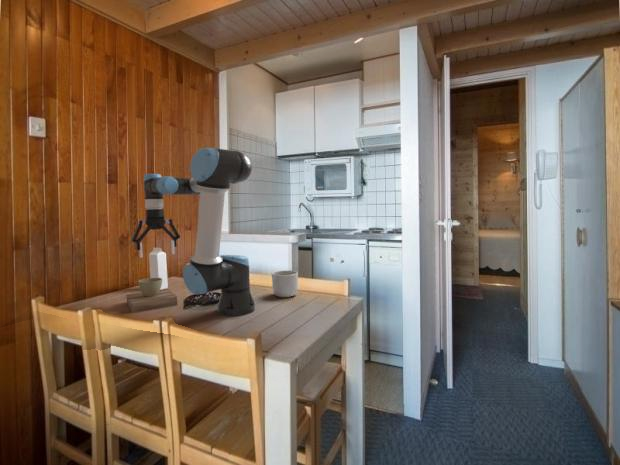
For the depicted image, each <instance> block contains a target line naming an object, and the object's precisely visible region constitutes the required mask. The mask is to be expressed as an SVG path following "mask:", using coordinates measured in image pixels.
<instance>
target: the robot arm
mask: <svg viewBox="0 0 620 465" xmlns="http://www.w3.org/2000/svg"><path fill="white" fill-rule="evenodd" d="M252 167H253V165H252V162H251V160H250V158H249V157H248V156H247V155H246V154H245V153H243V152H242V151H239V150H230V149H223V148H215V147H201V148H198V150H196V152H194V154H193V155H192V158H191V160H190V166H189V171H190V173H191V174H190V176H191V177H174V176H169V175H168V176H167V175H166V176H162V175H161V173H160V174H159V173H145V174H143V181H142V182H143V183H142V184H143V190H144V191H143V194H144V206H145V220H142V219H141V220H138V221H137V222H138V225H137V227H136V229H135V232H134V233H133V236H132V238H131V242H134V243H135V244H136V250H137V251H139V258H140V259H142V258H144V253H143V243H142V242H141V241H143V240H144V238H145V237H146V235H147V234H148V233H149V232H150V231H151V230H154V231H156V230H161V229H162V231H163V232H164V233H165V234H167V235H168V236H169V237H170V238H171V240H170V246H171V247H170V249H171V255H175V254H176V250H175V247H176V248H177V240H178V239H180V238H181V235H180V233H179V232H178V230H177V229H176V227H175V225H174V223H173V219H172V218H168V219H166V218H165V210H164V207H165V206H164V195H165V196H167V195H169V196H170V195H174V196H175V195H176V196H177V195H178V196H179V195H180V196H181V195H183V196H184V195H185V196H186V195H187V196H190V195H191V196H199V202H198V213H197V214H198V216H197V217H198V218H197V226H196V227H197V228H196V242H195V253H194V254H192V255H191V256H190V261H189V262H190V263H188V264H185V265H184V267H183V269H182V276H183V281H184V282H183V283H184V284H185V286H186V288H187V289H188V291H189V292H190V293H191V294H193V295H202V294H207V293H211V292H215V291H220V292H221V293H220V297H219V300H218V303H217V313H218V314H219V315H221V316H228V317H231V316H233V317H234V316H243V315H246V314H250V313H252V312H254V311H255V310H256V304H255V300H254V299H253V295H252V292H251V287H250V286H251V285H250V262H249V258H248V257H247V256H245V255H237V254H221V255H220V250H221V249H220V247H221V239H222V238H221V237H222V228H223V216H224V204H225V196H226V193H227V192H228V191H229V190H230V188H231V184H233V185H235V184H239V183H242V182H245V181H246V180H248V178H250V176H251V174H252V169H253V168H252ZM166 223H167V225H168V226H169V228H170V229H171V231H172V232H173V233H172V232H171V231H170V230H169V228H167V227H166V226H165V224H166ZM144 225H146V227H145V229H144V230H143V231H142V233H141V234H140V232H141V229H142V227H143V226H144ZM139 234H140V235H139Z"/></svg>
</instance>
